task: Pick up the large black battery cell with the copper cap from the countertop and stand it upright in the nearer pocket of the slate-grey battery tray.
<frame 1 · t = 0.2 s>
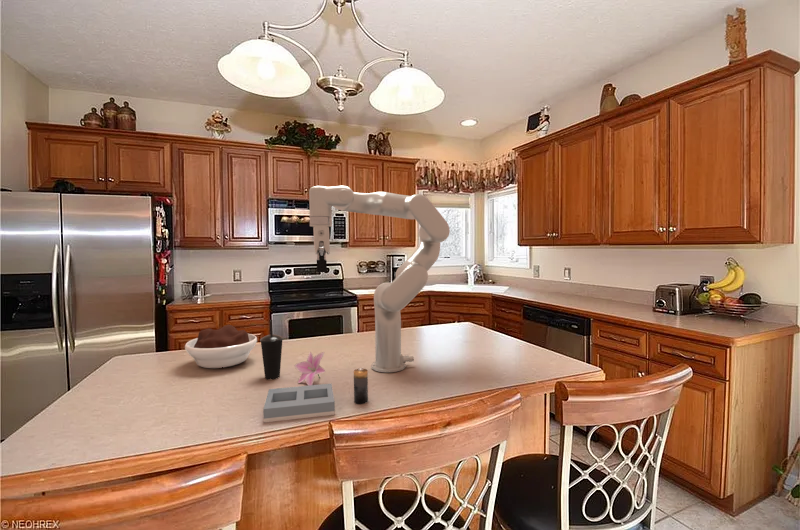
hand: (321, 271, 132), 36 cm above the counter, tool pointing down, fingers open, 9 cm apart
battery tray: (300, 407, 105), on the counter
drinking cup: (272, 377, 130), on the counter
battery cell: (361, 401, 109), on the counter
lily: (311, 382, 125), on the counter
white bowl of brownies: (223, 365, 144), on the counter
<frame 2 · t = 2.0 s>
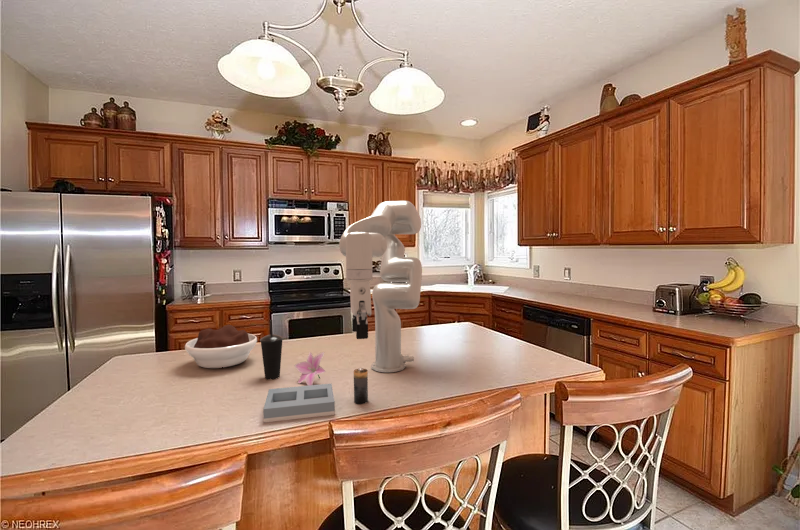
hand: (359, 334, 108), 20 cm above the counter, tool pointing down, fingers open, 9 cm apart
nothing on the counter moved.
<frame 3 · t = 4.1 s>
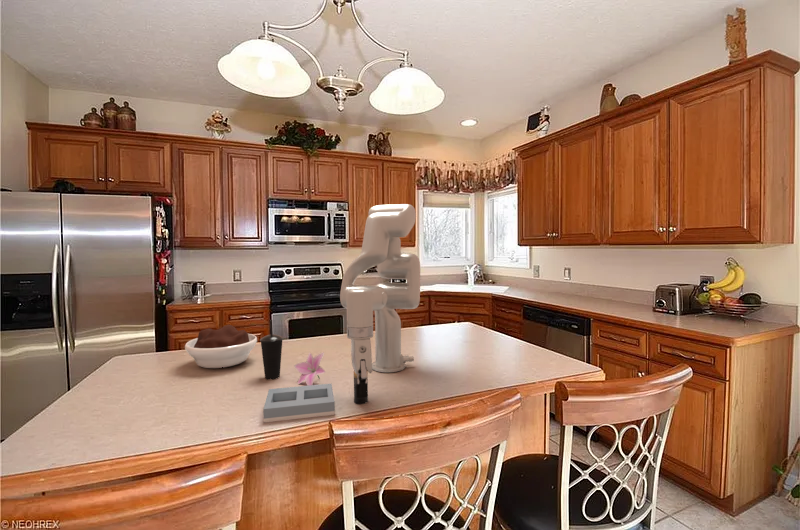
hand: (360, 393, 109), 2 cm above the counter, tool pointing down, fingers closed on battery cell, 4 cm apart
battery cell: (361, 401, 109), on the counter, touching gripper
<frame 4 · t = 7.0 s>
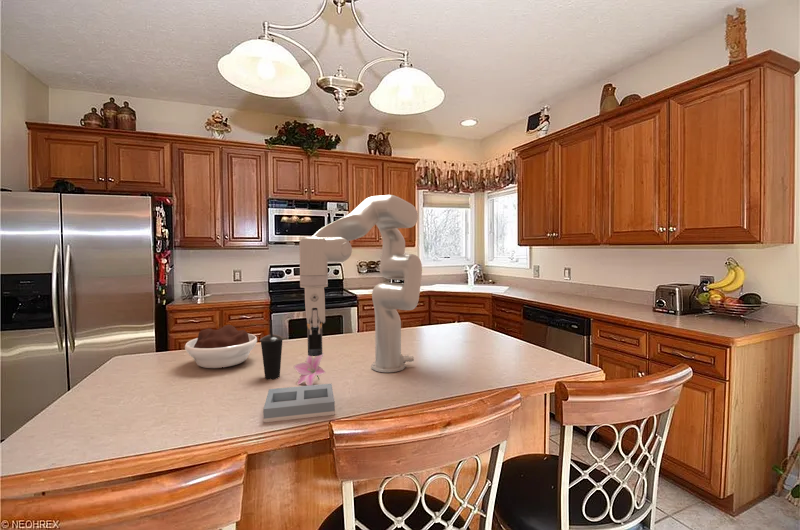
hand: (315, 346, 105), 17 cm above the counter, tool pointing down, fingers closed on battery cell, 4 cm apart
battery cell: (315, 354, 105), point 15 cm above the counter, touching gripper
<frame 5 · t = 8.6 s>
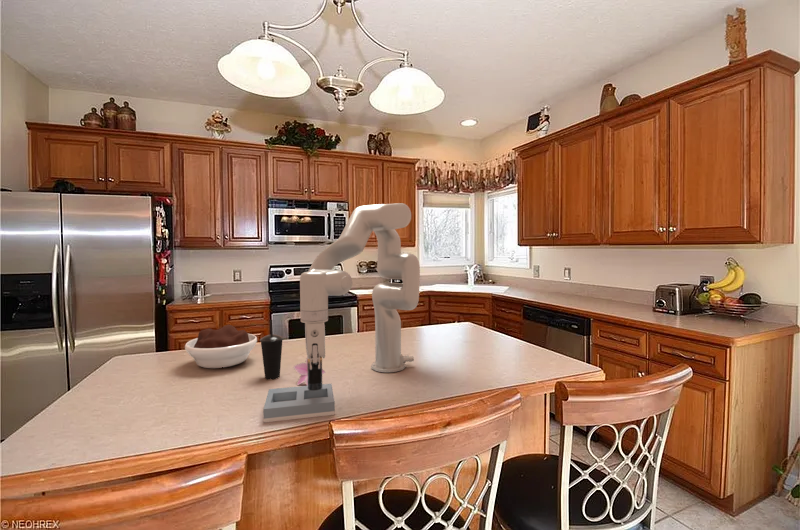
hand: (315, 379, 105), 8 cm above the counter, tool pointing down, fingers closed on battery cell, 4 cm apart
battery cell: (315, 387, 105), point 5 cm above the counter, touching gripper
when the fingers open (5 cm above the counter, at t = 9.9 s): battery cell drops 1 cm, resting on battery tray.
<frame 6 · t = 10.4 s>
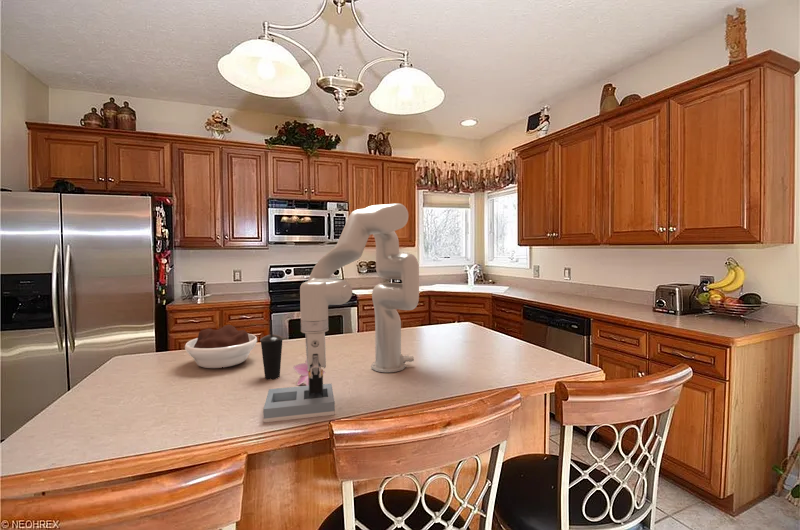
hand: (315, 385, 106), 6 cm above the counter, tool pointing down, fingers open, 9 cm apart
battery cell: (316, 402, 106), point 1 cm above the counter, touching battery tray
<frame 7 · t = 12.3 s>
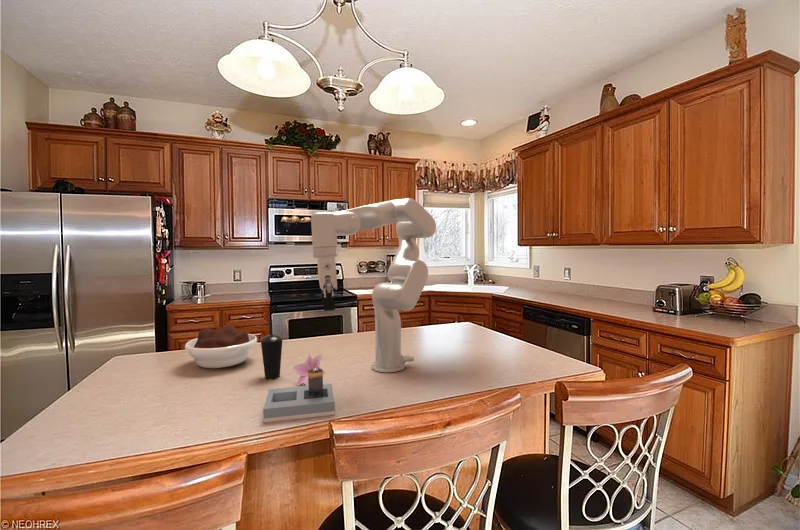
hand: (328, 307, 117), 26 cm above the counter, tool pointing down, fingers open, 9 cm apart
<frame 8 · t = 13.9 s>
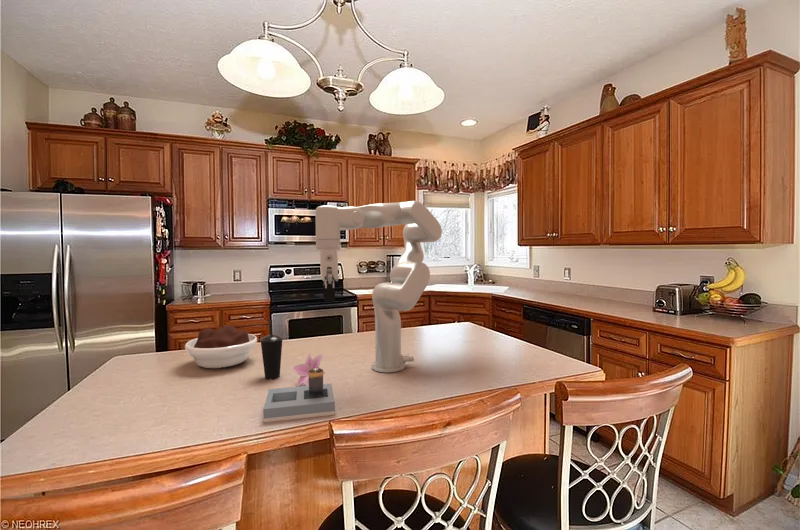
hand: (329, 299, 119), 28 cm above the counter, tool pointing down, fingers open, 9 cm apart
at the end: battery cell 0.3 cm from the target spot on the battery tray, point 1.0 cm above the battery tray's base; battery cell tilted 1°; the gripper is holding nothing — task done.
